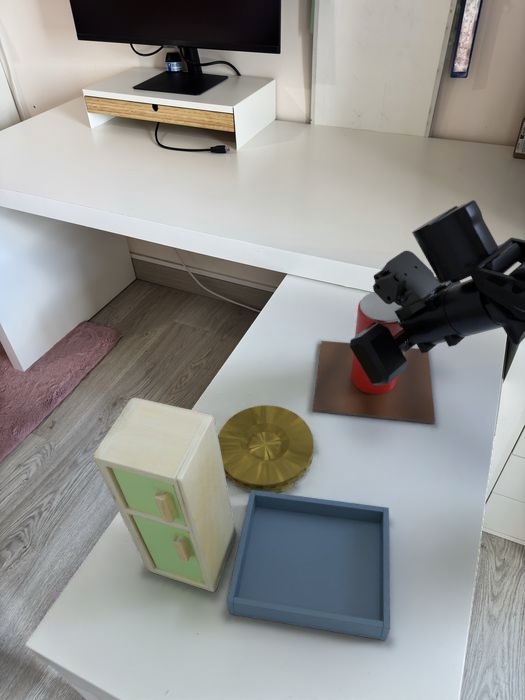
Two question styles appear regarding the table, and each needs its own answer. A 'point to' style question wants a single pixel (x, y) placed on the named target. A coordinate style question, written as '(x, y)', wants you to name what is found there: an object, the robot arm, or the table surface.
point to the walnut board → (398, 404)
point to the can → (367, 314)
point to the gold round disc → (266, 448)
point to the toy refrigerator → (170, 489)
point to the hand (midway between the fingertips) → (370, 339)
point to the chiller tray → (313, 564)
